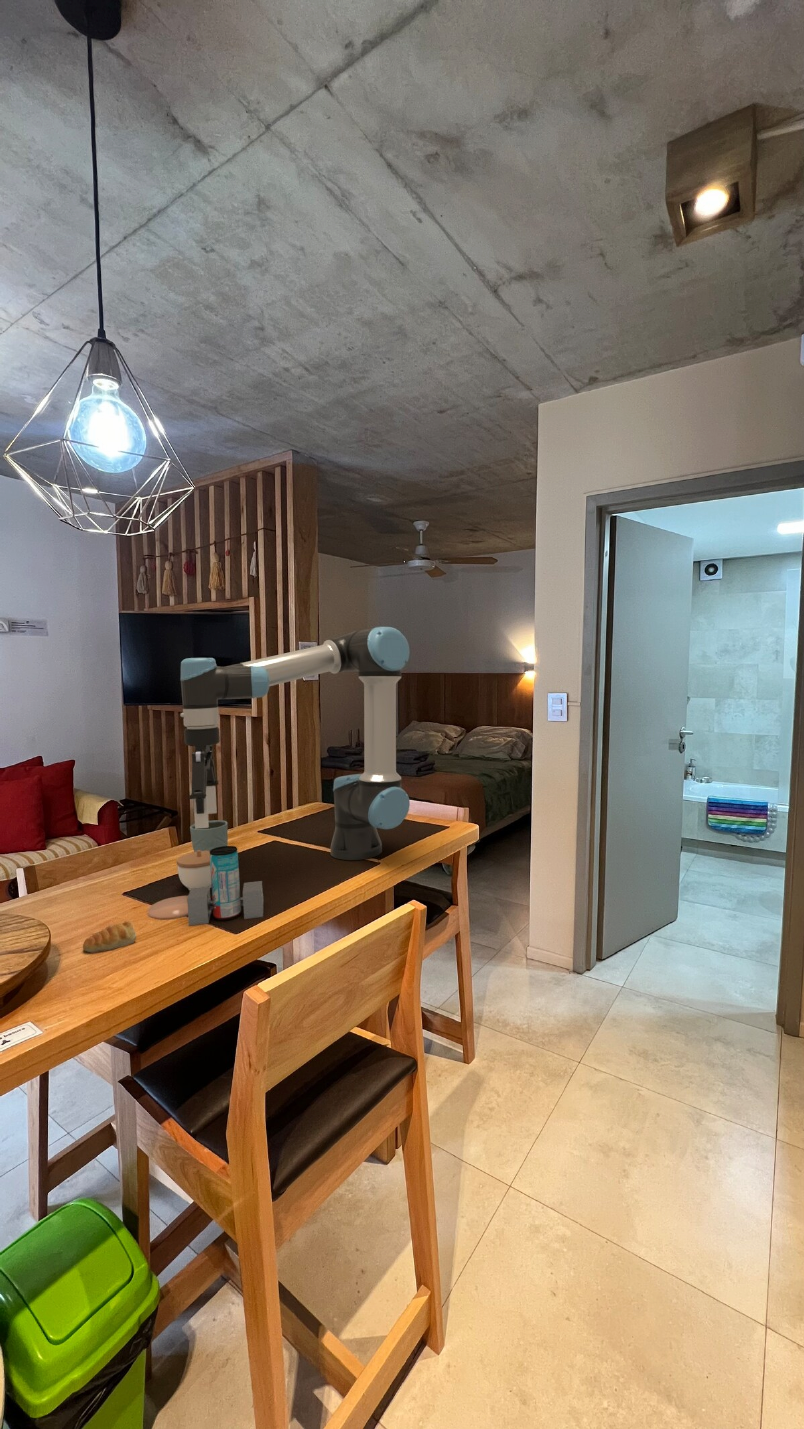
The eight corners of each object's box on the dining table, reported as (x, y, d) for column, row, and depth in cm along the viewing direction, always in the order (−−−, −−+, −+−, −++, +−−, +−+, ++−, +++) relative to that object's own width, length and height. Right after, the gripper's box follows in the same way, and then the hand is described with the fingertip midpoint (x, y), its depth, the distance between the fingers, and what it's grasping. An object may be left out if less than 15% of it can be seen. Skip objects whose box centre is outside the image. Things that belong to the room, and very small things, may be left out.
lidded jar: (168, 892, 146) (166, 855, 146) (198, 877, 156) (196, 842, 156) (203, 896, 142) (201, 859, 142) (231, 881, 152) (229, 846, 152)
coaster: (206, 895, 143) (206, 893, 143) (200, 915, 131) (200, 912, 131) (153, 901, 140) (153, 899, 140) (142, 922, 129) (142, 919, 129)
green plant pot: (212, 874, 158) (209, 830, 157) (184, 870, 163) (181, 827, 162) (237, 862, 167) (235, 821, 167) (210, 858, 172) (208, 818, 171)
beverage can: (227, 908, 135) (223, 844, 133) (246, 912, 132) (243, 847, 131) (207, 918, 129) (203, 852, 128) (227, 923, 127) (223, 855, 125)
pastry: (88, 959, 113) (86, 940, 113) (79, 947, 118) (78, 929, 118) (139, 943, 119) (137, 924, 119) (128, 932, 124) (127, 915, 124)
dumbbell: (263, 901, 138) (262, 876, 138) (262, 916, 129) (261, 890, 129) (194, 909, 135) (192, 883, 135) (188, 925, 126) (187, 898, 126)
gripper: (193, 723, 143) (198, 809, 145) (172, 733, 119) (178, 836, 120) (225, 721, 145) (229, 806, 146) (211, 731, 120) (216, 833, 122)
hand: (206, 820), depth 133 cm, fingers open, 13 cm apart
